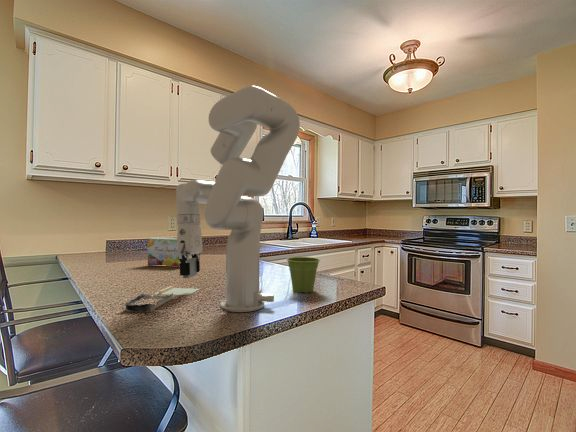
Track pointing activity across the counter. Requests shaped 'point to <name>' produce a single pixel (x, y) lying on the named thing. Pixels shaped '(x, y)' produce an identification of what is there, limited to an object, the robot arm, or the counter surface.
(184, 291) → the mat
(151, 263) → the snack box
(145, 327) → the counter surface
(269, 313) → the counter surface
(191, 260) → the slate plaque
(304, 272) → the plant pot
